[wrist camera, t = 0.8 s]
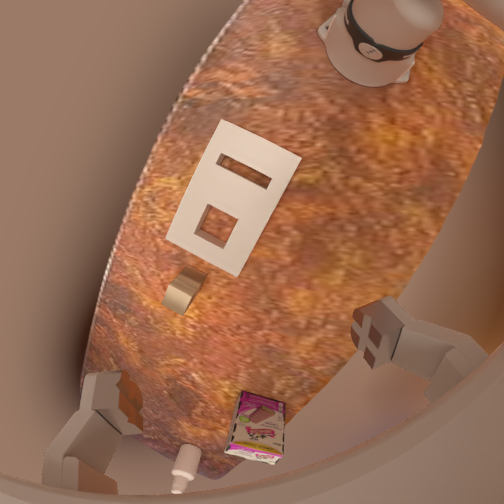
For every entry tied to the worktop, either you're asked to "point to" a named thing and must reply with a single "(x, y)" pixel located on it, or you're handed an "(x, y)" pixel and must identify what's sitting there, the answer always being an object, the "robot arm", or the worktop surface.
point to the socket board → (231, 196)
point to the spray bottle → (185, 467)
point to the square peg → (184, 289)
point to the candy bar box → (257, 429)
